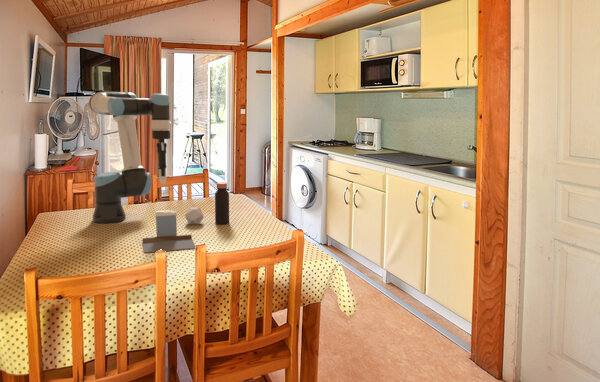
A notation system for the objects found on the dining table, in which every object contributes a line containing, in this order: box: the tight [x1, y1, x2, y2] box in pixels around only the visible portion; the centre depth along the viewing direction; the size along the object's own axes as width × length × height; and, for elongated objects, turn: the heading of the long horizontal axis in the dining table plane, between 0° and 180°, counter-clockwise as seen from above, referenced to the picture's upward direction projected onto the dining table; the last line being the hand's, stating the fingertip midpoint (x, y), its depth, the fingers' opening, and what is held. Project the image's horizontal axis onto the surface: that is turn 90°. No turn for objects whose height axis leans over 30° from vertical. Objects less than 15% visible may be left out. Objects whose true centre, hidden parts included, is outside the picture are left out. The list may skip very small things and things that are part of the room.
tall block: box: [155, 209, 178, 237], centre depth 200 cm, size 5×8×12 cm, turn 111°
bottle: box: [214, 181, 230, 226], centre depth 228 cm, size 7×7×20 cm
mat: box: [142, 239, 196, 254], centre depth 191 cm, size 14×20×1 cm
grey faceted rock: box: [184, 207, 205, 225], centre depth 227 cm, size 8×9×10 cm
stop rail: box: [142, 233, 193, 243], centre depth 198 cm, size 1×20×2 cm, turn 111°
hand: (162, 182), depth 208 cm, fingers open, 3 cm apart
